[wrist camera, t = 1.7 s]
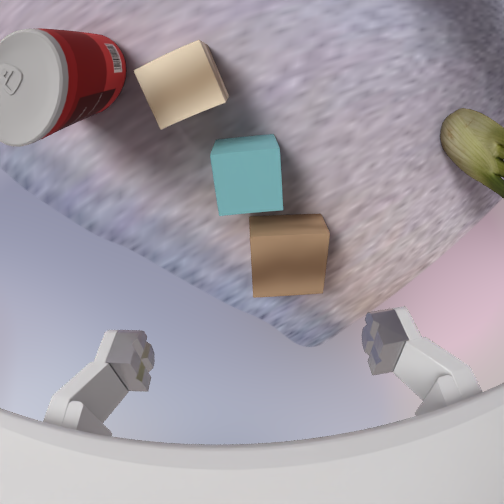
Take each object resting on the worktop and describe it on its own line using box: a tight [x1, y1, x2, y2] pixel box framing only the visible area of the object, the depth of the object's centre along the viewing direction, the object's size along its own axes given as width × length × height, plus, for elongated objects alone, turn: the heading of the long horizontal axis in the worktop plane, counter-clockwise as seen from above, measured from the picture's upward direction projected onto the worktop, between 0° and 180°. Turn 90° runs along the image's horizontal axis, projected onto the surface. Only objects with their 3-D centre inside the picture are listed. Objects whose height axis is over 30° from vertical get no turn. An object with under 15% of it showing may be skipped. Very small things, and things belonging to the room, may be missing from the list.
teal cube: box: [210, 134, 283, 216], centre depth 25 cm, size 5×5×5 cm
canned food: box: [0, 29, 126, 146], centre depth 16 cm, size 8×8×11 cm
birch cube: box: [134, 40, 229, 130], centre depth 20 cm, size 5×5×5 cm
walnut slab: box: [249, 214, 330, 297], centre depth 30 cm, size 7×7×4 cm
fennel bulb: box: [440, 108, 504, 198], centre depth 19 cm, size 6×5×12 cm
